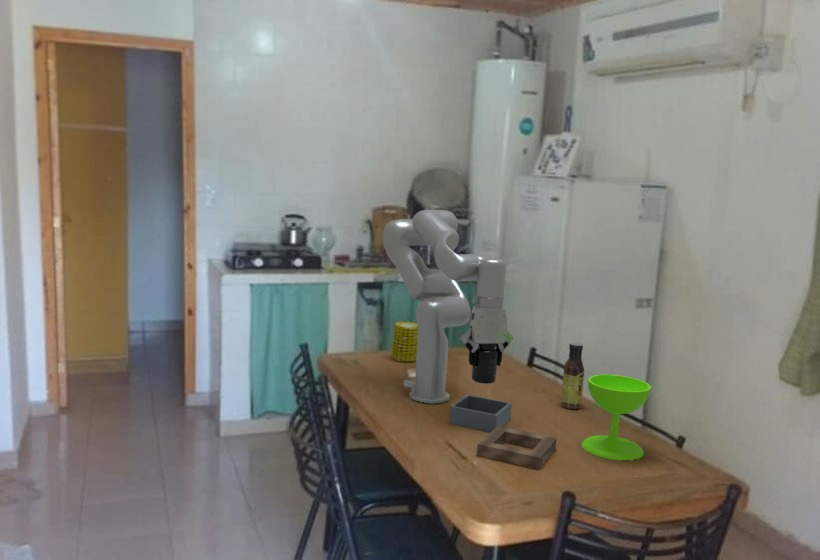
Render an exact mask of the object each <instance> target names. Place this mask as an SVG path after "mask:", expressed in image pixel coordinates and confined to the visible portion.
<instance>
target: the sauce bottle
mask: <svg viewBox="0 0 820 560" xmlns="http://www.w3.org/2000/svg"><path fill="white" fill-rule="evenodd" d="M568 349H569V353H568V359H566V361H565V363H564V366H563V375H562V386H561V397H560V405H561V407H563V408H565V409H569V410H578V409H580V408H581V405H582V401H583V390H584V380H585V379H584V378H585V367H584V364H583V359H582V355H583V349H584V344H582V343H579V342H570V343H569V348H568Z"/></svg>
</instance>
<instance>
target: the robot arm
mask: <svg viewBox="0 0 820 560" xmlns="http://www.w3.org/2000/svg"><path fill="white" fill-rule="evenodd" d="M458 227H459V221H458V219H457V217H456V215H455V214H454V213H453V212H452V211H450V210H446V209H445V210H444V209H423V210H420V211H418V212H417V213H415V215H413V217H412V218H409V219H408V218H403V219H402V218H399V219H394V220H391V221H389V222H388V223H387V224H385V227H384V229H383V232H382V243H383V247H384V251H385V253H386V255H387V256H388V258H389V259H390V261H391V262H392V263H393V265H394V266H395V268H396V269H397V271H398V273H399V274H400V277H401V279H402V281H403V283H404V285H405V287H406V288H407V291H408V293H409V294H410V296H411V297H412V298H413V299H414V300H417V301H419V302H418V304H417V306H416V310H415V315H416V316H415V318H416V324H417V326H418V343H417V359H416V360H415V362H416V364H415V378H414V380H413V381H412V380H410V379H404V381H403V387H404V388H406V389H410V391H409V393H408V394H409V395H408V397H409V398H410V399H411V400H413V401H416V402H418V401H419V403H423V402H424V403H425V404H443V403H446V402H448V401H450V398H451V395H450V393H448V392H447V391H446V385H447V384H446V383H447V370H448V360H449V359H448V358H449V357H448V356H449V355H448V354H449V339H448V337H447V334H446V333H445V331H444V329H445V328H455V327H460V326H464V325H466V324H467V323H468V322H469V326H468V330H467V331H466V332H465V333H463V334H462V335H461V336H460V337H459V340H460V341H461V342H462V344H463V345H464V346H465V348H466V349H467V350H468V363H469V366H472V368H473V367H476V364H477V353H476V349H477V348H478V347H479V344H495V349H496V350H497V351H498V361H497V367H499V366H501V363H502V362H503V361H502V360H503V352H504V351H505V349H506V348H507V347H508V346H509V344H510V343H511V342H512V341H513V339H514V336H513V335H512V334H510V332H509V331H508V320H507V319H508V317H507V309H506V307H504V295H505V285H506V283H505V282H506V272H507V271H506V270H507V263H506V261H505V260H504V259H501V258H498V257H497V258H496V257H491V256H489V255H487V254H483V253H465V254H464V253H461V254H460V253H459V254H458V253H456V252H455V249H456V248H457V246H459V241H460V236H459V233H458ZM411 246H412V247H414V246H415V247H417V246H418V247H419V246H430V247H431V248H432V249H433V259H434V263H435V265H436V267H437V268H438V269H430V268H428V267H427V265H426V264H425V262H424V259H423V258H422V257H421V256H420V254H419V253H418V252H417V251H415V250H414V249H413V248H411ZM467 281H468V282H469V281H472V282H473V281H477V283H476V284H477V285H476V295H475V297H473V298H472V299H471V303H472V304H475V305H474V306H473V307H472V310H471V306H470V303H469V301H468V299H467V297H466V294H465V293H464V292H463V289H462V287H461V286H460V284H459V282H467ZM468 340H469V341H470V342H469V341H468ZM424 403H423V404H424Z"/></svg>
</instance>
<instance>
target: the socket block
mask: <svg viewBox="0 0 820 560" xmlns="http://www.w3.org/2000/svg"><path fill="white" fill-rule="evenodd" d="M504 443H505V444H510V445H515V446H518V447H519V446H520V447H525V448H529V449H532V450H528V449H527V450H526V449H522V448H517V447H513V446H509V445H504ZM556 447H557V437H554V436H549V435H543V434H539V433H534V432H529V431H524V430H519V429H514V428H510V427H504V426H503V427H500V426H497V427H496V428H495V429H494V430H493V431H492V432H489V433H488V434H487V435H486V436H485V437H484V438H483V439H482V440H480V442H478V443H477V448H476V456H478V457H480V458H486V459H491V460H494V461H500V462H502V463H503V462H504V463H507V462H508V464H512V463H513V464H512V465H516V464H518V465H517V466H521V465H523V466H522V467H525V466H527V467H526V468H530V467H532V468H531V469H534V468H536V469H535V470H538V469H539V470H541V468H542V467H543V466H544V464H545V463H546V462H547V461H548V459H549V458H550V457H551V456H552V454H553V453H554V451H556Z"/></svg>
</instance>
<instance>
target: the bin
mask: <svg viewBox="0 0 820 560" xmlns="http://www.w3.org/2000/svg"><path fill="white" fill-rule="evenodd" d="M512 404H513V403H512V402H508V401H503V400H497V399H492V398H489V397H488V398H487V397H482V396H478V395H471V394H466V395H464V396H463V397H461V398H460V399H459V400H457V401H456V402H455V403H453V404H452V405H450V406H449V408H450V409H449V420H448V421H449V423H448V424H450V425H455V426H459V427H464V428H469V429H472V430H473V429H474V430H476V431H482V432H486V433H487V432H488V433H491V432H492V431H493V430H494V429H495V428H496V427H497V426H500V427H504V426H505V425H507V423H508V422H509V421H511V416H512Z"/></svg>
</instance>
